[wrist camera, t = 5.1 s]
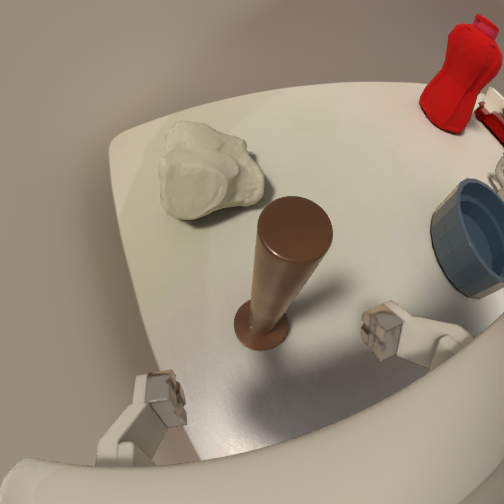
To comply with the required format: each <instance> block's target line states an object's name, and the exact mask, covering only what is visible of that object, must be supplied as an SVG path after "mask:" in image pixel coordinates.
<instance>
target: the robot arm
mask: <svg viewBox="0 0 504 504" xmlns="http://www.w3.org/2000/svg"><path fill="white" fill-rule="evenodd" d="M362 321H363V322H364V324H363V326H362V327H361V336H362V340H363V342H364V343H365V345H366V346H367V347H369V348H373V354H374V355H375V356H376V357H377V358H378V359H379V361H380V362H382V361H384V360H386V359H388V358H390V357H392V356H394V355H396V356H399V357H401V358H404V359H406V360H408V361H411V362H413V363H416V364H418V365H421V366H423V367H426V368H429V371H428V374H426V375H425V376H423V377H421V378H420V379H418V380H417V381H415V382H413V383H412V384H410V385H409V386H407V387H405V388H404V389H402V390H400V391H398V392H397V393H395V394H393V395H391V396H389V397H388V398H386V399H384V400H382V401H380V402H378V403H376V404H374V405H372V406H370V407H368V408H366V409H364V410H362V411H360V412H358V413H356V414H354V415H352V416H350V417H347V418H345V419H343V420H341V421H338V422H336V423H333V424H331V425H329V426H326V427H324V428H321V429H318V430H316V431H313V432H310V433H308V434H305V435H302V436H299V437H296V438H293V439H290V440H287V441H284V442H281V443H277V444H274V445H271V446H267V447H263V448H260V449H256V450H252V451H248V452H244V453H239V454H235V455H230V456H225V457H220V458H215V459H209V460H203V461H197V462H189V463H180V464H171V465H159V466H157V465H156V464H155V463H154V462H153V461H152V458H153V456H154V455H155V452H156V451H157V449H158V447H159V445H160V443H161V442H162V440H163V438H164V436H165V434H166V432H167V431H168V428H172V427H178V426H183V425H187V413H186V411H185V409H184V405H185V404H186V401H185V395H184V391H183V389H182V386H181V384H180V383H179V382H177V381H176V375H175V373H174V372H173V370H171V369H170V370H165V371H158V372H153V373H147V374H140V375H137V376H136V379H135V386H134V394H133V403H132V405H129V406H128V407H127V408H126V409H125V411H124V412H123V413H122V414H121V415H120V417H119V418H118V419H117V420H116V421H115V422H114V424H113V425H112V426H111V427H110V428H109V430H108V431H107V432H106V433H105V435H104V436H103V437H102V438H101V439H100V440H99V442H98V448H97V455H96V464H95V466H89V465H77V464H68V463H60V462H53V461H47V460H42V459H37V458H31V457H27V458H24V459H23V460H21V461H20V462H19V463H18V464H17V465H16V466H14V467H13V468H12V469H11V470H10V471H9V472H8V473H7V474H6V475H5V477H4V479H3V481H2V484H1V487H0V504H504V313H503V314H501V315H500V316H499V317H498V318H497V319H496V320H495V321H494V322H493V323H492V324H491V325H490V326H489V327H488V328H486V329H485V330H484V331H483V332H482V333H481V334H480V335H478V336H477V337H476V338H475V337H474V336H472V335H471V334H470V333H468V332H467V331H466V330H465V329H463V328H462V327H461V326H460V325H456V324H451V323H446V322H441V321H436V320H432V319H427V318H422V317H417V316H416V317H413V316H411V315H410V314H409V313H408V312H406V311H405V310H404V309H403V308H402V307H400V306H399V305H398V304H397V303H395V302H394V301H391V300H390V301H388V302H386V303H384V304H382V305H379V306H377V307H375V308H372V309H370V310H368V311H365V312H363V314H362Z"/></svg>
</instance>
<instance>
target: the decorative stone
mask: <svg viewBox="0 0 504 504" xmlns="http://www.w3.org/2000/svg"><path fill="white" fill-rule="evenodd" d="M165 138H166V146H165V155H164V156H163V158H162V159H161V160H160V161H159V164H158V176H159V179H160V197H161V202H162V205H163V208H164V209H165V211H166V213H167V214H168V215H169V216H171V217H173V218H175V219H180V220H194V219H197V218H200V217H203V216H206V215H208V214H210V213H211V212H213V211H216V210H219V209H222V208H226V207H233V206H244V207H247V206H250V205H254V204H256V203H258V201H259V200H260V199H261V198H262V197H263V195H264V186H265V179H264V174H263V172H262V170H261V169H260V167H259V166H258V165H257V164H256V163H255V162H254V161H253V159H252V158H251V157H250V155H249V153H248V151H247V145H246V142H245V140H243V139H240V138H238V137H235V136H230V135H226V134H223V133H221V132H218V131H216V130H215V129H213V128H211V127H210V126H208V125H206V124H204V123H197V122H188V121H178V122H176V123H175V125H174V126H173V127H172V128H171V129H169V130H167V132H166V137H165Z"/></svg>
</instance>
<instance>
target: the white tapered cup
mask: <svg viewBox="0 0 504 504" xmlns="http://www.w3.org/2000/svg"><path fill="white" fill-rule="evenodd" d="M483 101H484V102H485V103H486V104H484V107H485V108H486V109H487V110H488V111H489V112H493V111H497V112H498V113H500V112H501V110H502V109H503V108H504V97H503V96H502V95H501V94H500V93H499V92H498V91H496V90H495V89H494V88H493V87H491V86H490V87H489V89H488V92H487V94H486V96H485V98H484V100H483Z"/></svg>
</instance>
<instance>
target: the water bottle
mask: <svg viewBox="0 0 504 504" xmlns="http://www.w3.org/2000/svg"><path fill="white" fill-rule="evenodd" d="M498 31H499V29H498V28H497V27H496V25H494V24H493V23H492V22H491V21H489V20H488V19H486V18H485V17H483V16H481V15H479V14H477V15H476V17H475V20H474V22H473V24H458V25H456V26H455V28H454V29H453V30H452V31H451V33H450V34H449V35H448V43H447V51H446V58H445V62H444V65H443V67H442V69H441V70H440V71H439V73H438V74H437V75H436V76H435V77H434V78H433V79H432V80H431V82H430V83H429V84H428V85H427V86H426V87H425V89H424V91H423V93H422V94H421V96H420V101H419V102H420V105H421V107H422V108H423V110H424V111H425V113H426V115H427V116H428V118H429V119H430V121H431V122H432V123H434V124H435V125H436V126H437V127H439V128H441V129H444V130H448V131H451V132H453V133H461V132H462V131H463V130H464V129H465V127H466V126H467V124H468V122H469V121H470V118H471V115H472V112H473V109H474V106H475V102H476V99H477V96H478V94H479V93H480V91H481V90H482V88H484V87H485V86H486V85H487V84H488V83H489V82H490V81H491V80H492V79H493V78H494V77H496V75H497V74H498V72H499V70H500V68H501V65H502V54H501V51H500V49H499V47H498V45H497V44H496V42H495V39H496V37H497V34H498Z"/></svg>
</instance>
